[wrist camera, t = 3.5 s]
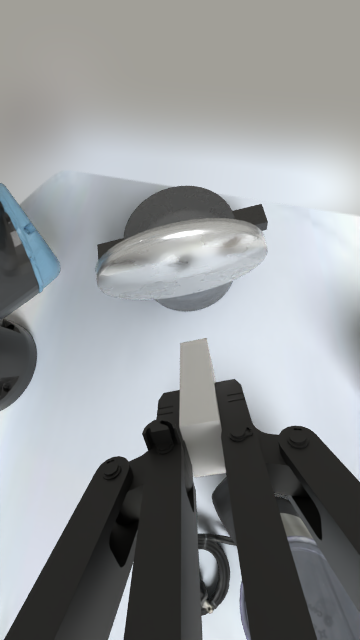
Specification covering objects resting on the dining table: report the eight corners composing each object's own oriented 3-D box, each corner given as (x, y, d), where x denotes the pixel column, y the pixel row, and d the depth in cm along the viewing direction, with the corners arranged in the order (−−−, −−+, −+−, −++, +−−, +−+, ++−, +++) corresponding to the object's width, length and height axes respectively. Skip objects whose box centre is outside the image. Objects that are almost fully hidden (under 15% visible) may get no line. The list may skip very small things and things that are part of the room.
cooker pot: (125, 325, 48) (99, 299, 38) (117, 247, 53) (93, 208, 44) (272, 293, 45) (281, 258, 36) (247, 215, 51) (250, 166, 42)
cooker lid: (127, 299, 38) (129, 309, 38) (59, 251, 22) (62, 266, 22) (253, 271, 37) (255, 280, 37) (279, 196, 21) (284, 212, 20)
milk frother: (336, 532, 34) (403, 598, 21) (267, 680, 31) (293, 874, 17) (226, 455, 39) (221, 466, 25) (157, 576, 36) (108, 664, 22)
